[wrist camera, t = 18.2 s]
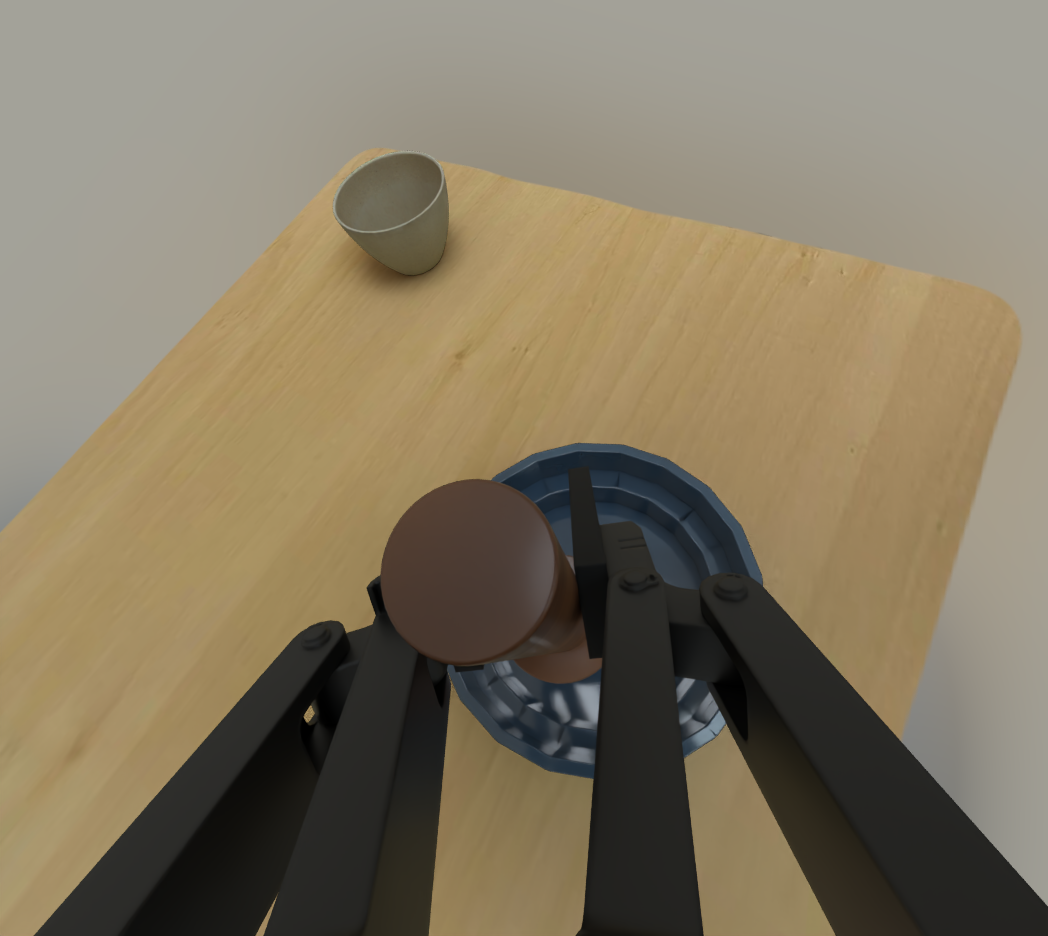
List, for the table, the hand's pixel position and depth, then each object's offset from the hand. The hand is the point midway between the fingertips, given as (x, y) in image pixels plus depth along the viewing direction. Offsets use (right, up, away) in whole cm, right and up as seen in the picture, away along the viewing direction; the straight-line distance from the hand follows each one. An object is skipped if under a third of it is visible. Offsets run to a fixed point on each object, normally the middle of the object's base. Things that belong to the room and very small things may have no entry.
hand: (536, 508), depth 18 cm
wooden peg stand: (+1, -5, +3) cm, 6 cm away
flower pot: (-11, +22, +29) cm, 38 cm away
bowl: (+4, -7, +13) cm, 15 cm away
